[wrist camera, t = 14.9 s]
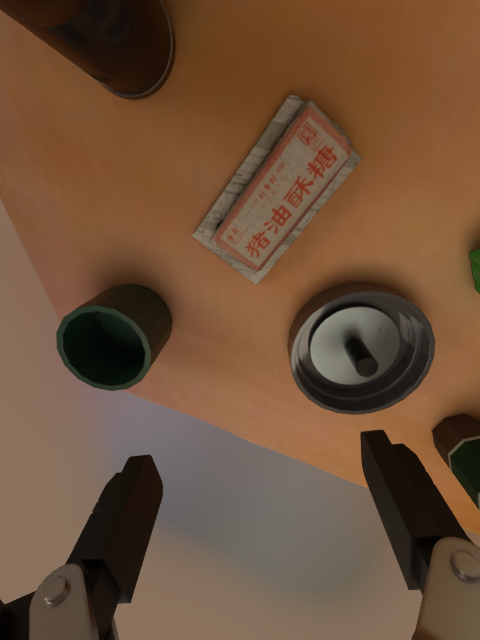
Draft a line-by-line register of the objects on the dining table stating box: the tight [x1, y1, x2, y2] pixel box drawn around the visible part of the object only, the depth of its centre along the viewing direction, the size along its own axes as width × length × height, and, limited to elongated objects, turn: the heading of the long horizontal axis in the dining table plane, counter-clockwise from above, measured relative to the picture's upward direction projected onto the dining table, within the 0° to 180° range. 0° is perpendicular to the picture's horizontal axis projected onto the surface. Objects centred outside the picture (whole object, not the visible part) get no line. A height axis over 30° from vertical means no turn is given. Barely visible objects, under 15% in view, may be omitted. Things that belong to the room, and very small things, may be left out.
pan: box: [287, 282, 435, 415], centre depth 39 cm, size 17×17×4 cm
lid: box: [310, 306, 400, 385], centre depth 38 cm, size 12×12×6 cm
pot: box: [57, 284, 172, 391], centre depth 37 cm, size 11×11×9 cm
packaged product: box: [193, 95, 362, 285], centre depth 32 cm, size 18×5×10 cm
